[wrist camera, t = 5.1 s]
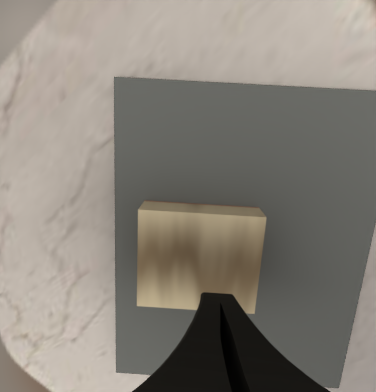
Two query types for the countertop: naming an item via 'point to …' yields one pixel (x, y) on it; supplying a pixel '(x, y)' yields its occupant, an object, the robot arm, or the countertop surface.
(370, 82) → the countertop surface
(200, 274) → the tile
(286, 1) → the countertop surface
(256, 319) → the mat
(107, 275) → the countertop surface
